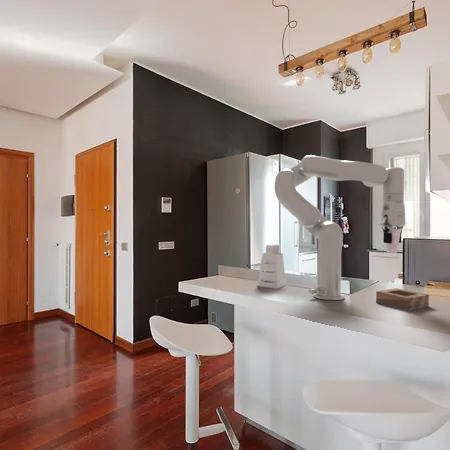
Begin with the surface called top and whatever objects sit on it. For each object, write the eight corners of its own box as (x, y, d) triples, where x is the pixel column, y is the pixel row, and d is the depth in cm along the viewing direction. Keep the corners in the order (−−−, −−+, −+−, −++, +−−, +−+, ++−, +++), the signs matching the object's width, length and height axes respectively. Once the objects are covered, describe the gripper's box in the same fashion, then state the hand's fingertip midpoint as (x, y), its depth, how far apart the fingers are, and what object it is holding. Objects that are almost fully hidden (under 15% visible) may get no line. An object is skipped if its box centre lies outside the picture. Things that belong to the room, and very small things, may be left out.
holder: (409, 310, 117) (409, 298, 117) (376, 302, 128) (376, 291, 128) (428, 306, 124) (428, 294, 124) (395, 299, 135) (395, 288, 135)
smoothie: (380, 251, 135) (380, 218, 135) (394, 251, 136) (394, 218, 136) (389, 253, 129) (390, 218, 129) (404, 253, 130) (405, 218, 129)
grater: (257, 285, 158) (258, 244, 158) (267, 282, 167) (267, 243, 166) (277, 288, 152) (278, 245, 152) (286, 285, 161) (286, 244, 161)
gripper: (390, 197, 124) (389, 244, 124) (413, 199, 134) (412, 242, 134) (372, 198, 130) (371, 242, 131) (395, 199, 140) (394, 241, 140)
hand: (392, 242), depth 132 cm, fingers closed on smoothie, 6 cm apart
